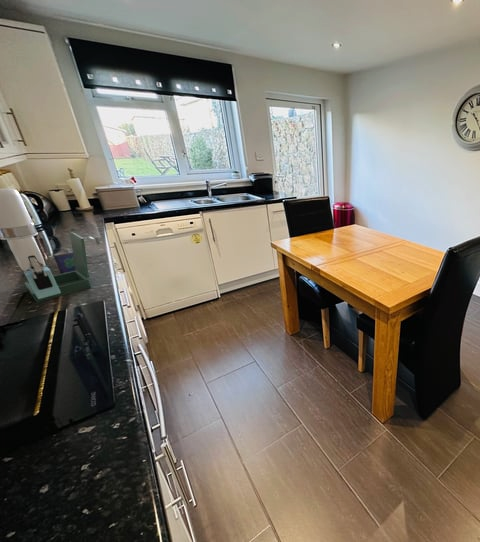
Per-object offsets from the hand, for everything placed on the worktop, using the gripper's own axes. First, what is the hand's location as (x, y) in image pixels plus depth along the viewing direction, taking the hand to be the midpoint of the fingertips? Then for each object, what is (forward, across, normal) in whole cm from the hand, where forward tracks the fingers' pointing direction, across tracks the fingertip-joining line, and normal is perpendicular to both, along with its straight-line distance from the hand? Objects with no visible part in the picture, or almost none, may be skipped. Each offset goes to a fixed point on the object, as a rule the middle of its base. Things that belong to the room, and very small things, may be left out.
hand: (43, 285), depth 91 cm
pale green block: (+3, 0, 0) cm, 3 cm away
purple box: (+10, -39, +13) cm, 42 cm away
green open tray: (+10, -18, +5) cm, 21 cm away
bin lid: (-3, -18, +13) cm, 23 cm away
